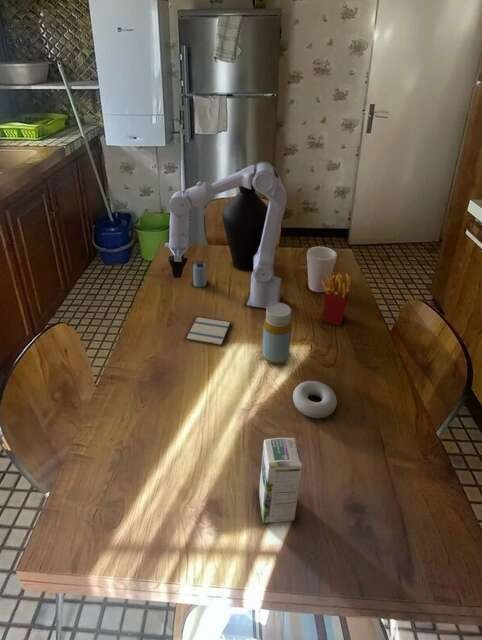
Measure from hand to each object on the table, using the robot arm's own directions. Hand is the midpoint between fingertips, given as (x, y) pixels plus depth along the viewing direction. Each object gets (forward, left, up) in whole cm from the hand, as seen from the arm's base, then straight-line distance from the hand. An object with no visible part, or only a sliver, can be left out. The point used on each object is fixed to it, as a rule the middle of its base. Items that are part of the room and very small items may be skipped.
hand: (177, 270), depth 135 cm
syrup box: (-40, +60, -10) cm, 73 cm away
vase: (-16, -27, -10) cm, 33 cm away
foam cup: (-43, -18, -10) cm, 48 cm away
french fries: (-48, -2, -10) cm, 49 cm away
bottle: (-34, +20, -10) cm, 41 cm away
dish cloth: (-14, +14, -10) cm, 22 cm away
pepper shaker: (-4, -10, -10) cm, 14 cm away
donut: (-45, +34, -10) cm, 57 cm away
